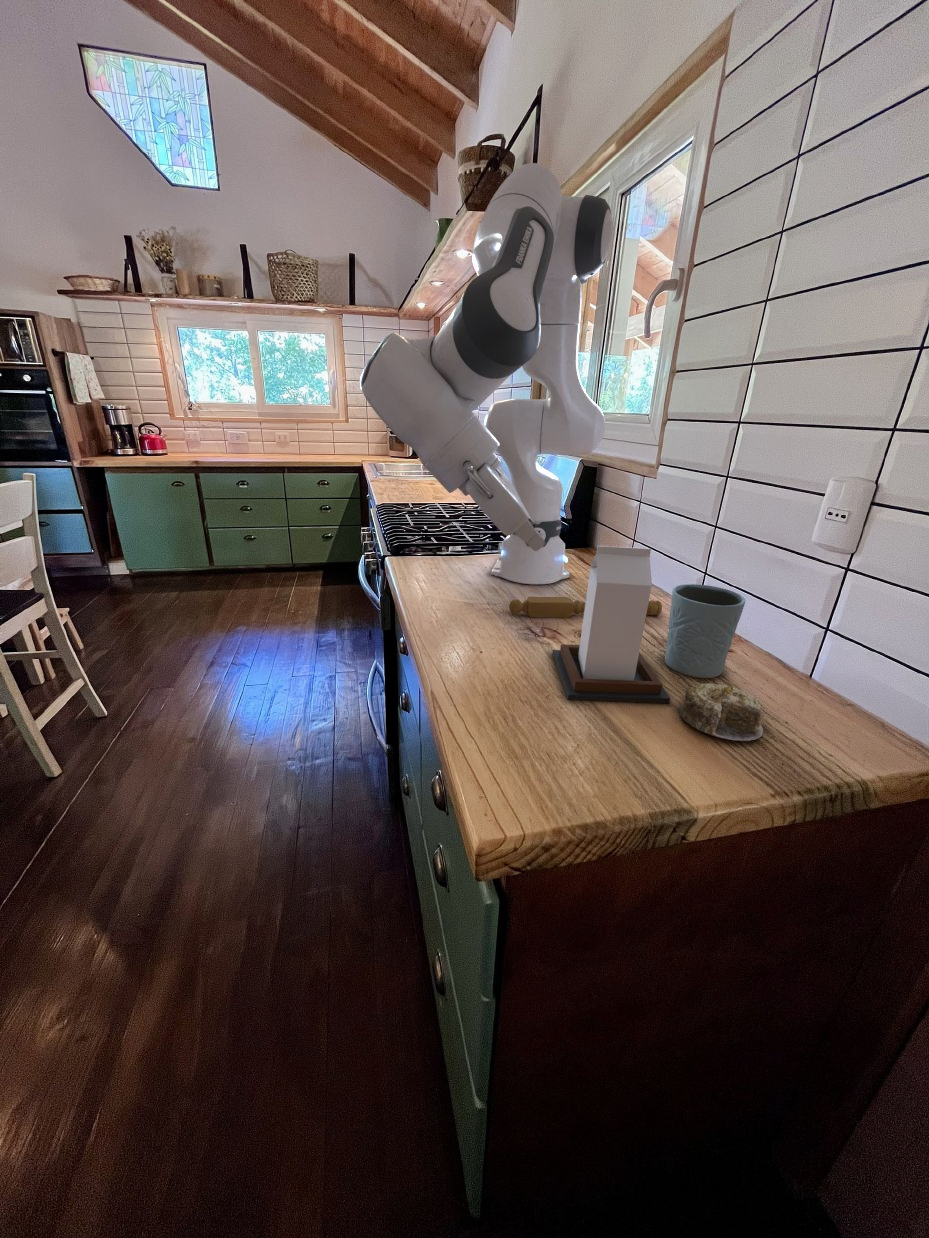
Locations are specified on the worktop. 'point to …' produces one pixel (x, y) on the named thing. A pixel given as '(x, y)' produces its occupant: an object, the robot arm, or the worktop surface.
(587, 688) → the shallow square tray
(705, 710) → the cake
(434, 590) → the worktop surface
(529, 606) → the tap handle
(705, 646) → the blue plant pot
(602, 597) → the milk carton
